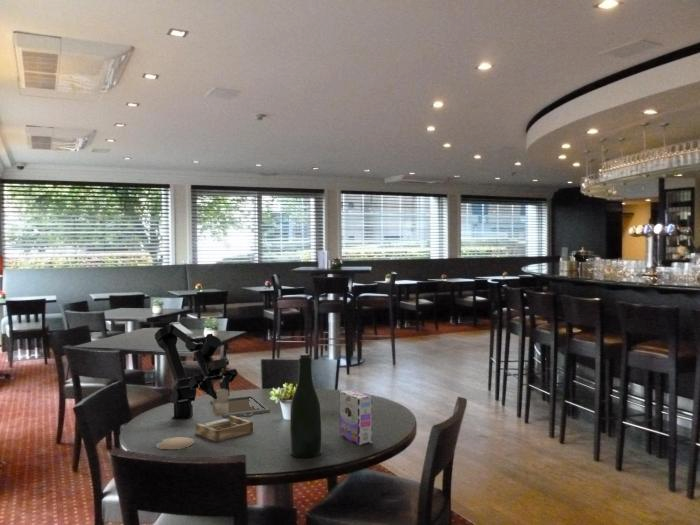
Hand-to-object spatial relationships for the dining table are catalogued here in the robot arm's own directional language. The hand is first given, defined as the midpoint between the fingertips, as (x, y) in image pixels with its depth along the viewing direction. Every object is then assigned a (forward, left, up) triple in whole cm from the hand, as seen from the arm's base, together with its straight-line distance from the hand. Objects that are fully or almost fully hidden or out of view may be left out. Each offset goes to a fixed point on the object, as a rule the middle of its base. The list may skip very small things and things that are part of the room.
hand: (222, 397), depth 214 cm
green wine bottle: (+35, -20, -13) cm, 42 cm away
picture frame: (-4, +34, -14) cm, 37 cm away
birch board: (-1, +1, -7) cm, 7 cm away
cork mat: (-12, -15, -13) cm, 23 cm away
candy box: (+50, -4, -13) cm, 52 cm away
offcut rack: (+1, -1, -13) cm, 13 cm away
